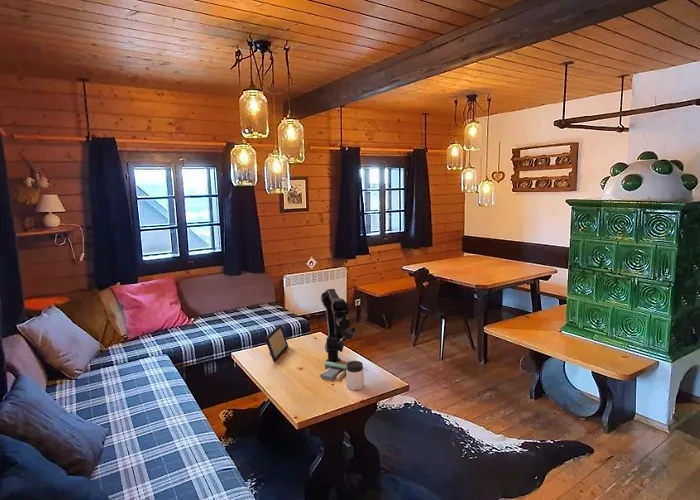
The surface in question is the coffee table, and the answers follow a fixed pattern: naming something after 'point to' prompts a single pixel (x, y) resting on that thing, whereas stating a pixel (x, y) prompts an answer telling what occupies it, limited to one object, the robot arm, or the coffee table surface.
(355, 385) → the jar
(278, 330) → the picture frame
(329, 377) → the slate tile
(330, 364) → the dock
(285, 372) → the coffee table surface
